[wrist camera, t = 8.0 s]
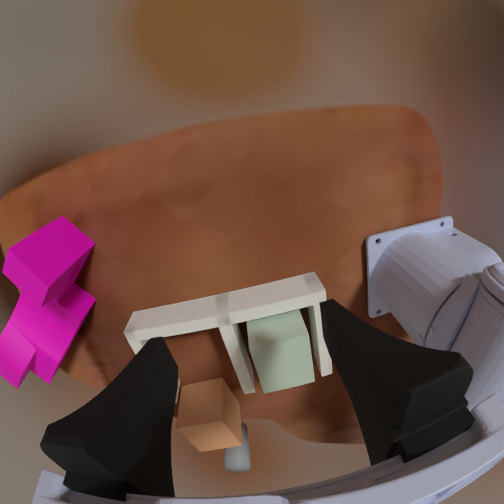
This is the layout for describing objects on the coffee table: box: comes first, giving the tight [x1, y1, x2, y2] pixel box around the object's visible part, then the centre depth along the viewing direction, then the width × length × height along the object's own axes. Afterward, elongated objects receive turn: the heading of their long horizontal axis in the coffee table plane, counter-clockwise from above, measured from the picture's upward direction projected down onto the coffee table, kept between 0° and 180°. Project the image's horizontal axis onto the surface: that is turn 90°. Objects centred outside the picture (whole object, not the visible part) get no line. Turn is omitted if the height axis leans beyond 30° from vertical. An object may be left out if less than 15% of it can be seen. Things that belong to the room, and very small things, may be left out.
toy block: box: [0, 216, 96, 389], centre depth 19 cm, size 15×6×8 cm, turn 139°
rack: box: [123, 272, 332, 404], centre depth 23 cm, size 16×9×3 cm, turn 103°
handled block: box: [176, 377, 250, 473], centre depth 26 cm, size 4×11×6 cm, turn 19°
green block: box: [247, 309, 315, 393], centre depth 22 cm, size 4×5×6 cm
